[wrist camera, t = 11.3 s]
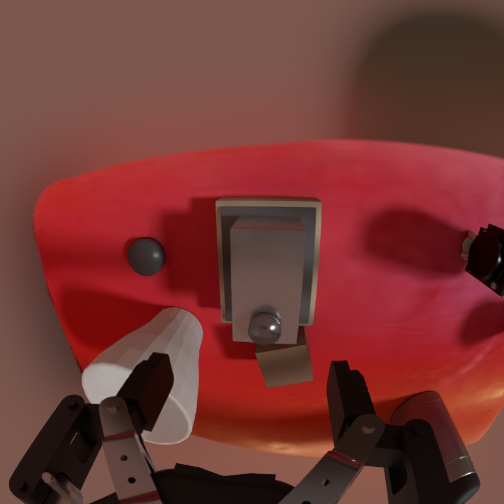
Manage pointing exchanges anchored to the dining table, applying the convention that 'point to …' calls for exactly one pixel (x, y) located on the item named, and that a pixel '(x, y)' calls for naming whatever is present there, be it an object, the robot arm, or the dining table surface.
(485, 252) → the pneumatic valve
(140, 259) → the black cap
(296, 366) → the walnut block
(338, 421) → the robot arm
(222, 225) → the stand
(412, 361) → the dining table surface
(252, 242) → the block
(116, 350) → the cup
